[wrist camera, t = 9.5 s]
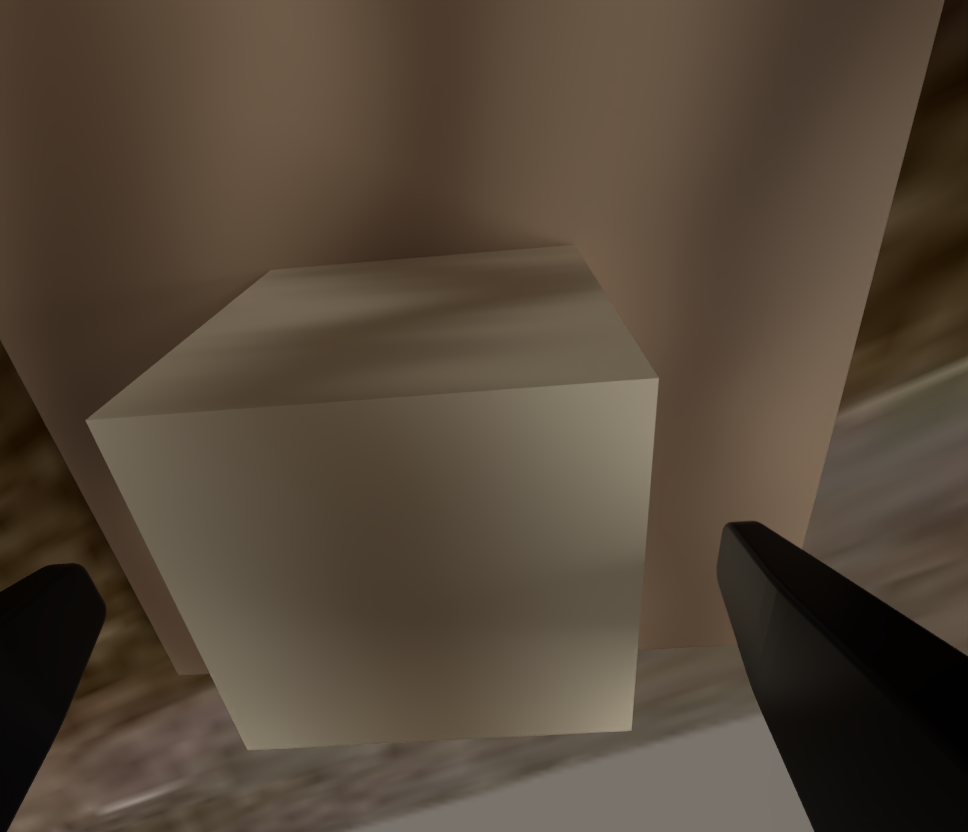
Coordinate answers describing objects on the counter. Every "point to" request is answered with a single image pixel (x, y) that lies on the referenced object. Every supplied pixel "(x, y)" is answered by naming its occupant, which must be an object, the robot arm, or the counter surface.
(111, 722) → the counter surface
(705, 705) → the counter surface
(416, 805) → the counter surface
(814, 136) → the wooden board
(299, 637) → the maple cube
